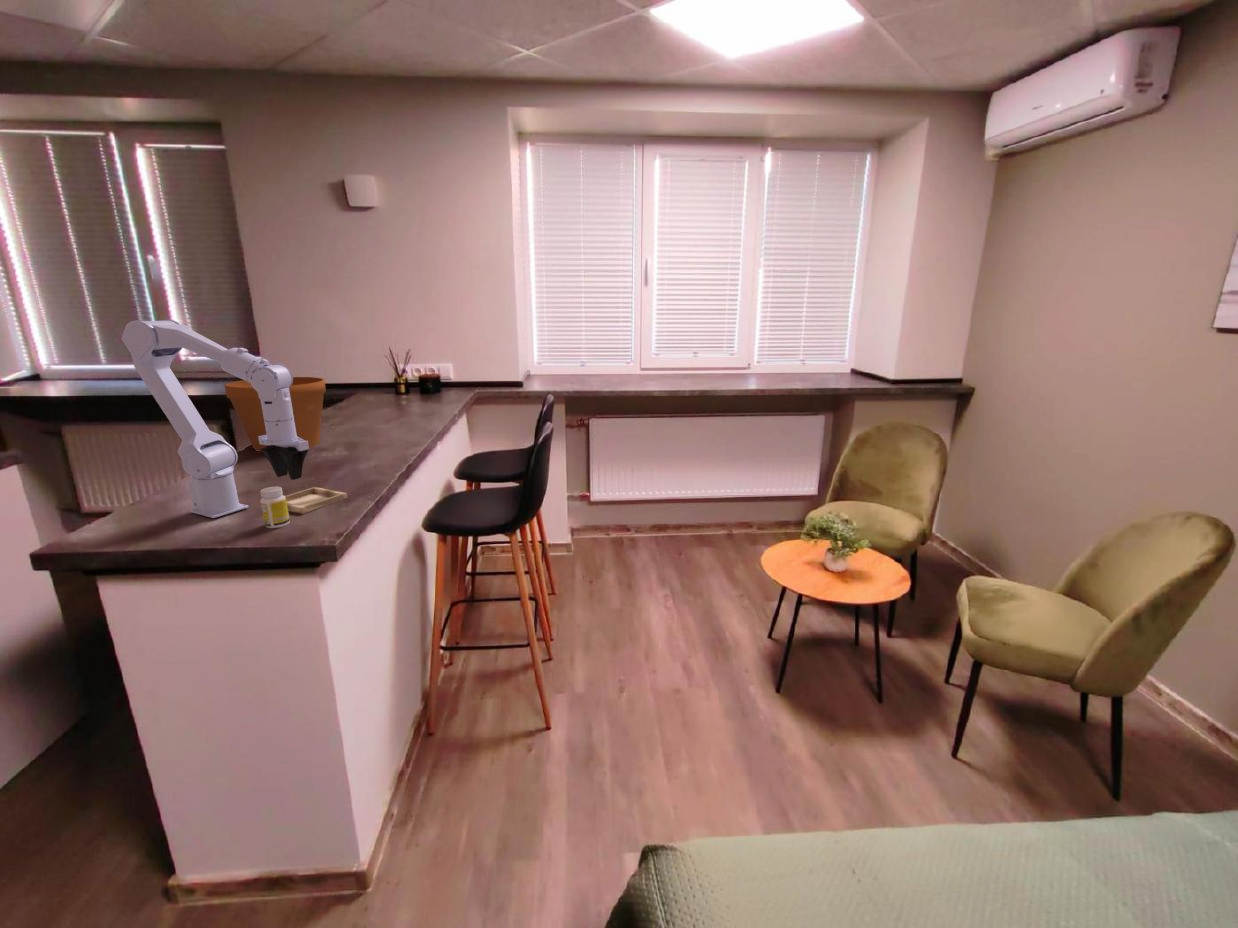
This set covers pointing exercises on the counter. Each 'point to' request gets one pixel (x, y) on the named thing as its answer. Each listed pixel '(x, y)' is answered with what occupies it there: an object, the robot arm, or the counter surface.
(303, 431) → the flowerpot
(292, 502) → the tray
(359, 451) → the counter surface
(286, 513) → the supplement bottle
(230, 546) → the counter surface
